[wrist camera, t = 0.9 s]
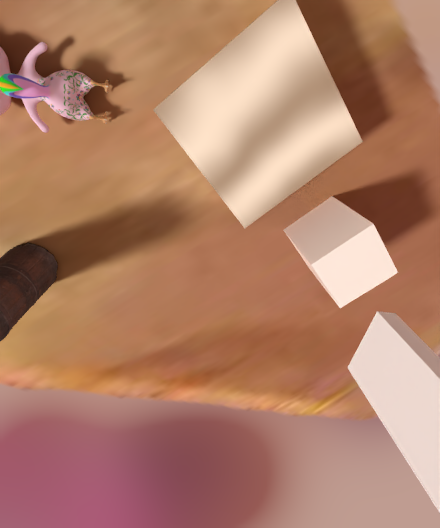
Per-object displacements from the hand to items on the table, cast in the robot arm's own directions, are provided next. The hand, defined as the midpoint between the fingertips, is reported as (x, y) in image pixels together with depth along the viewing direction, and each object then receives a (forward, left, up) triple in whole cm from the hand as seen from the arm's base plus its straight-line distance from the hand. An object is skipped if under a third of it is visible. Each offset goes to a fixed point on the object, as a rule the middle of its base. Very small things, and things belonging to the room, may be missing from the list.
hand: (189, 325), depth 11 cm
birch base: (+1, +8, -23) cm, 25 cm away
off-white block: (+15, +8, -23) cm, 28 cm away
